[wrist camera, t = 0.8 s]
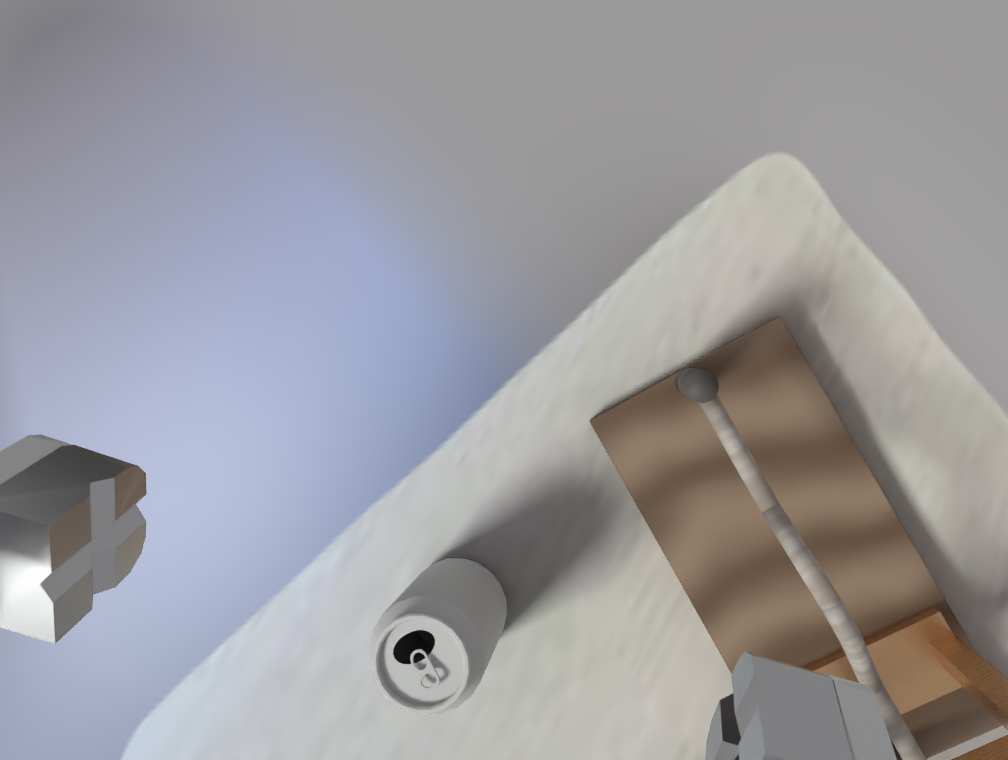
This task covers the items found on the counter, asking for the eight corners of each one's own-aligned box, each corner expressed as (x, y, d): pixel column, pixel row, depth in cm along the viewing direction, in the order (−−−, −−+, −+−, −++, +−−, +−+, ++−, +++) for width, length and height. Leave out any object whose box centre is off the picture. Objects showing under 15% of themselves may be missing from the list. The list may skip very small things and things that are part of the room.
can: (477, 537, 58) (439, 582, 46) (527, 623, 58) (502, 692, 46) (395, 583, 59) (338, 639, 47) (444, 669, 59) (399, 747, 47)
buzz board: (1003, 709, 53) (1130, 825, 40) (803, 798, 55) (860, 936, 42) (776, 317, 54) (824, 304, 41) (590, 419, 57) (580, 437, 43)
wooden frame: (971, 671, 52) (1119, 804, 36) (791, 753, 54) (859, 913, 38) (932, 605, 52) (1063, 710, 36) (755, 689, 54) (808, 822, 38)
